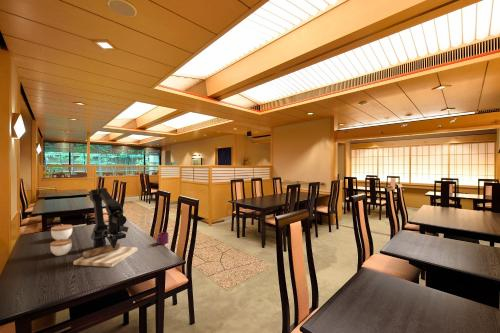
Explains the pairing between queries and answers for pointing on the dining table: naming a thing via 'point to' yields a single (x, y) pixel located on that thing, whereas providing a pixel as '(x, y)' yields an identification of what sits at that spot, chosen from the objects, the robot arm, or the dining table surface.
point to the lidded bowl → (61, 231)
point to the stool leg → (99, 250)
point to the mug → (162, 238)
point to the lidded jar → (61, 246)
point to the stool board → (107, 257)
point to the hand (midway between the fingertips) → (113, 247)
